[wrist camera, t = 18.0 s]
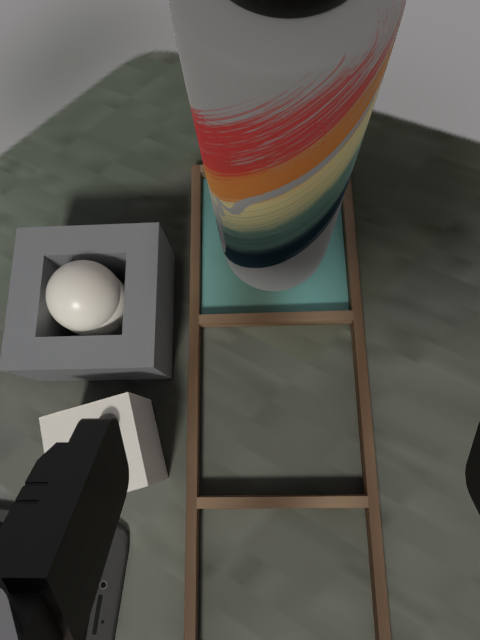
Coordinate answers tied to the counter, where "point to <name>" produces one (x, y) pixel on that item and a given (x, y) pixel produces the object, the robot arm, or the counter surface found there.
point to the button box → (100, 350)
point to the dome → (86, 298)
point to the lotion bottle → (281, 119)
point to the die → (134, 429)
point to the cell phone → (105, 587)
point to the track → (269, 310)
